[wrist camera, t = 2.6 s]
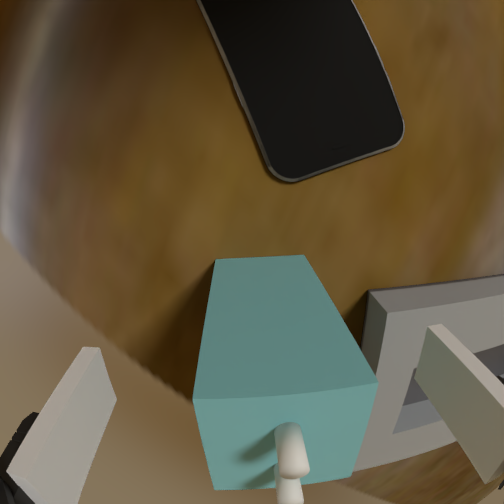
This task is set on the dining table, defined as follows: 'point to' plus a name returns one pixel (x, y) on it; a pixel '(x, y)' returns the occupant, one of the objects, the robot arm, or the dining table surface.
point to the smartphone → (306, 81)
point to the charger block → (278, 380)
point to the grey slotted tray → (408, 354)
